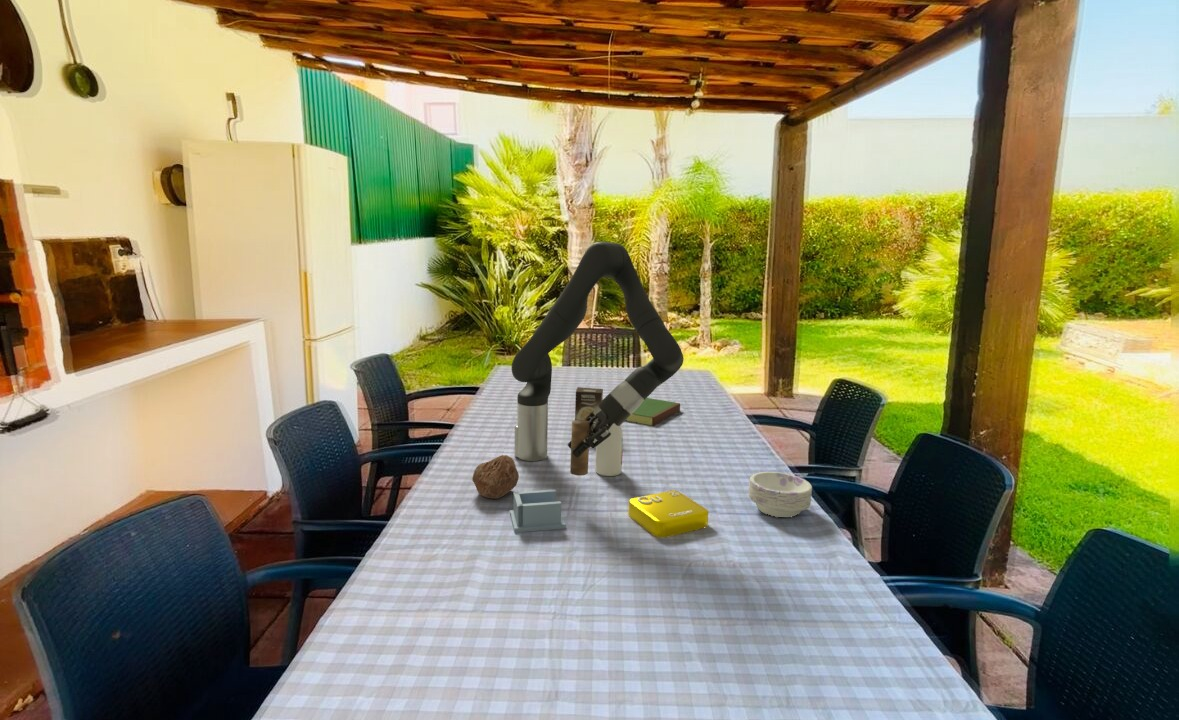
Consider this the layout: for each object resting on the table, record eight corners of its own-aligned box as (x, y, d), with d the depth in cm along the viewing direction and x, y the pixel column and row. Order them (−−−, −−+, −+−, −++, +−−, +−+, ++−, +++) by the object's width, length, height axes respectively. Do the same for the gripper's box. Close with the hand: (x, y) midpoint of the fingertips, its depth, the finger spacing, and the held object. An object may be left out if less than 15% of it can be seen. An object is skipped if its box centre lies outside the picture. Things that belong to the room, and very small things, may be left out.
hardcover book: (653, 427, 233) (653, 417, 233) (608, 418, 243) (608, 409, 242) (680, 412, 254) (681, 402, 254) (638, 404, 264) (638, 395, 263)
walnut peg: (567, 473, 160) (568, 423, 157) (575, 467, 164) (577, 418, 161) (582, 476, 158) (584, 426, 155) (590, 471, 162) (592, 421, 159)
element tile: (658, 540, 147) (659, 521, 146) (625, 514, 160) (625, 496, 159) (711, 528, 153) (712, 509, 152) (675, 504, 166) (676, 487, 166)
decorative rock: (503, 481, 178) (503, 446, 176) (529, 493, 171) (529, 457, 169) (463, 493, 169) (463, 457, 167) (488, 507, 161) (488, 469, 160)
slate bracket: (514, 532, 148) (514, 508, 147) (509, 514, 157) (509, 491, 156) (565, 528, 151) (566, 504, 150) (558, 510, 160) (558, 487, 159)
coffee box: (573, 437, 218) (574, 391, 215) (575, 431, 224) (576, 386, 221) (600, 438, 217) (601, 392, 214) (602, 433, 223) (603, 388, 220)
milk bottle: (619, 478, 183) (621, 410, 179) (592, 475, 184) (594, 408, 180) (623, 468, 190) (626, 403, 186) (597, 466, 191) (599, 401, 188)
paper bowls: (809, 503, 168) (812, 475, 167) (809, 528, 154) (812, 497, 152) (750, 495, 173) (752, 467, 171) (744, 517, 159) (746, 487, 157)
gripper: (604, 385, 165) (556, 432, 165) (619, 400, 152) (567, 451, 151) (623, 405, 167) (576, 451, 167) (639, 421, 154) (588, 471, 154)
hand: (572, 451), depth 159 cm, fingers closed on walnut peg, 4 cm apart
